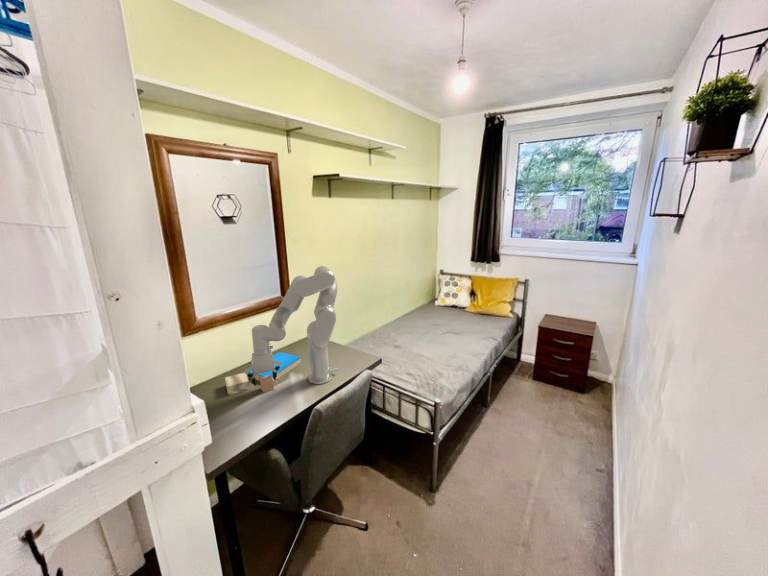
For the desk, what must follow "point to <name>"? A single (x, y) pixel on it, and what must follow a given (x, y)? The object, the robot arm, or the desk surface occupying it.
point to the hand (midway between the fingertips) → (264, 381)
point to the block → (266, 383)
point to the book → (286, 365)
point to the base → (237, 383)
